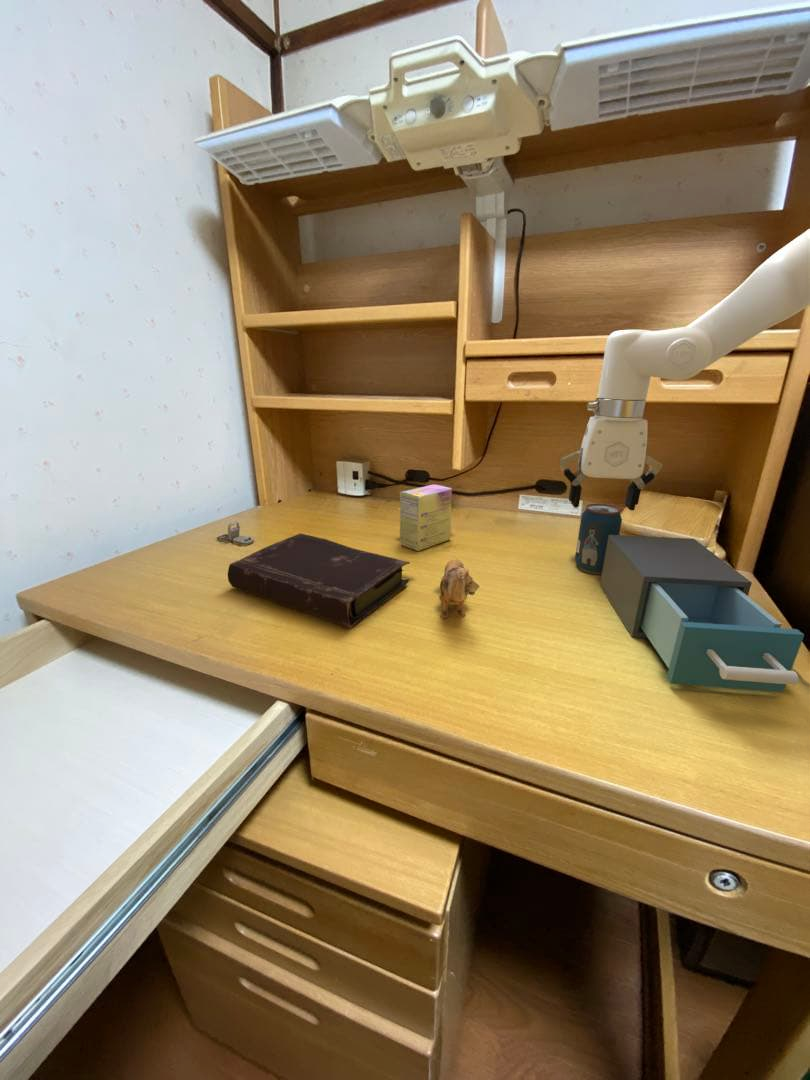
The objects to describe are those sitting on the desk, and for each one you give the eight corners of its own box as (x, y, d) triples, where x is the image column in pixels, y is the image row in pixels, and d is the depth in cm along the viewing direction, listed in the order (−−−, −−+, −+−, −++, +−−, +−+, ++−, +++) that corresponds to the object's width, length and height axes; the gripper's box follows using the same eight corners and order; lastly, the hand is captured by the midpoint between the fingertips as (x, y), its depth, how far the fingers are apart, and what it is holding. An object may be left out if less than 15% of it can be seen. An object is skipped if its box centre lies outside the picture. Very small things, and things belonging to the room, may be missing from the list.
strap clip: (255, 542, 99) (253, 523, 98) (245, 546, 97) (243, 527, 95) (226, 535, 103) (223, 517, 101) (215, 540, 100) (213, 521, 99)
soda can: (607, 562, 91) (618, 503, 87) (616, 577, 84) (628, 514, 80) (571, 559, 92) (579, 501, 88) (577, 574, 85) (587, 512, 81)
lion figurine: (478, 630, 67) (482, 574, 64) (441, 630, 67) (444, 574, 64) (461, 585, 81) (464, 537, 78) (431, 585, 81) (433, 537, 77)
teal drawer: (811, 721, 49) (836, 660, 46) (688, 711, 50) (705, 650, 48) (715, 623, 68) (729, 575, 65) (627, 617, 69) (637, 570, 66)
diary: (347, 632, 66) (345, 601, 64) (229, 590, 78) (225, 563, 76) (411, 583, 81) (411, 557, 79) (304, 554, 93) (302, 531, 91)
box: (431, 533, 105) (433, 483, 101) (450, 540, 102) (453, 487, 97) (398, 545, 99) (399, 491, 94) (418, 552, 95) (419, 496, 91)
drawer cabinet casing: (733, 644, 64) (752, 582, 61) (631, 637, 66) (644, 576, 62) (681, 590, 80) (693, 538, 76) (599, 585, 81) (608, 534, 78)
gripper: (571, 410, 75) (556, 510, 81) (682, 413, 73) (659, 515, 80) (562, 406, 82) (549, 498, 88) (663, 409, 80) (643, 503, 87)
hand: (601, 506), depth 84 cm, fingers open, 9 cm apart
